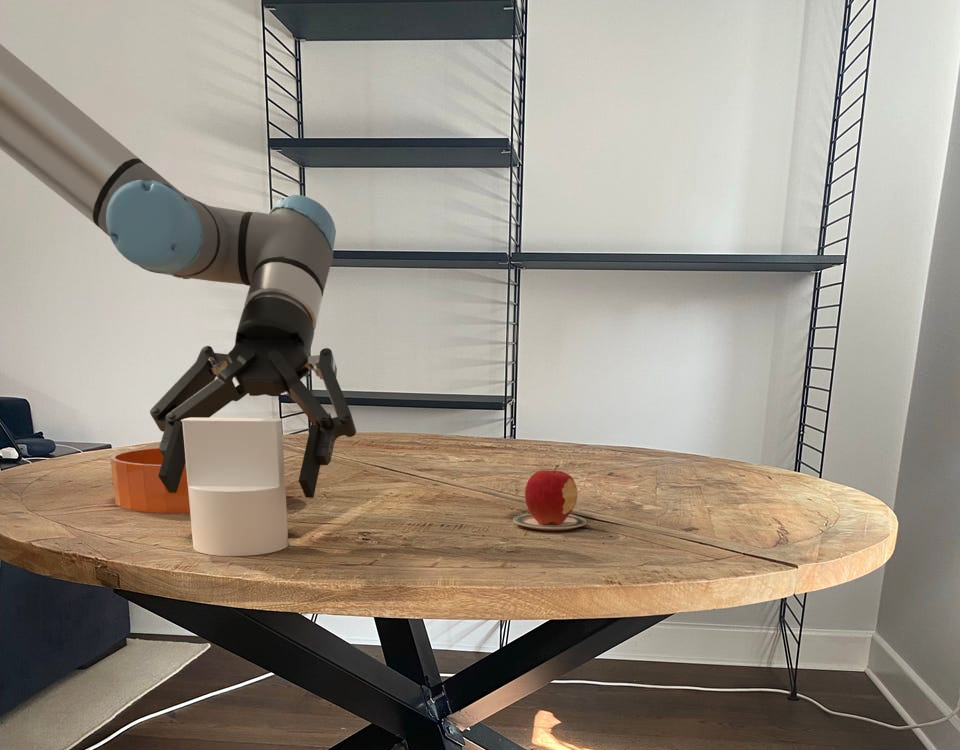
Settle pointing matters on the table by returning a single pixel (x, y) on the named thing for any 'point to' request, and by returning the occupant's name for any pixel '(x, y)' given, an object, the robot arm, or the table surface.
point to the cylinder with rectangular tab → (236, 485)
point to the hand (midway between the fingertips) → (236, 487)
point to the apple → (550, 502)
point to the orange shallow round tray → (146, 483)
